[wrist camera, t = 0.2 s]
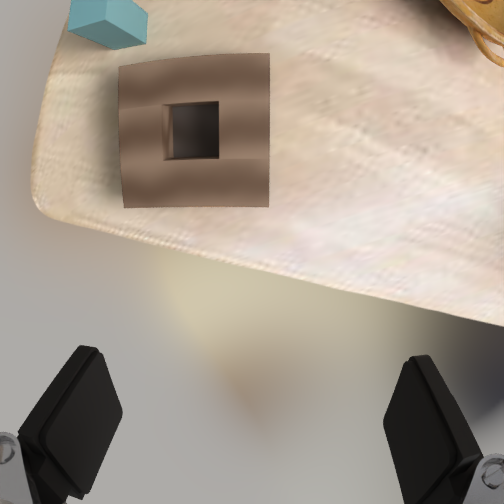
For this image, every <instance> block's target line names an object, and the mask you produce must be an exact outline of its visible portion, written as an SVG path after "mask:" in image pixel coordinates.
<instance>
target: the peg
mask: <svg viewBox="0 0 504 504" xmlns="http://www.w3.org/2000/svg"><path fill="white" fill-rule="evenodd" d="M147 19H148V13H146V12H145V11H144V10H143V9H142V8H140V7H139V6H138V5H137V4H136V3H134V2H133V1H132V0H71V6H70V14H69V22H68V31H69V32H71V33H74V34H77V35H79V36H82V37H84V38H87V39H89V40H92V41H94V42H97V43H99V44H102V45H104V46H106V47H109V48H111V49H113V50H116V49H121V48H126V47H131V46H137V45H142V44H146V37H147Z"/></svg>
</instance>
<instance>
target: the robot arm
mask: <svg viewBox="0 0 504 504" xmlns="http://www.w3.org/2000/svg"><path fill="white" fill-rule="evenodd" d="M122 413H123V412H122V407H121V404H120V402H119V400H118V396H117V394H116V391H115V388H114V386H113V383H112V380H111V377H110V374H109V371H108V368H107V366H106V362H105V359H104V356H103V354H102V353H100V352H99V350H98V349H97V348H95V347H90V346H84V345H80V346H79V347H78V348H77V349H76V350H75V351H74V353H73V354H72V355H71V357H70V358H69V360H68V361H67V362H66V364H65V365H64V366H63V368H62V369H61V370H60V371H59V373H58V374H57V376H56V377H55V378H54V380H53V381H52V383H51V384H50V385H49V387H48V388H47V390H46V391H45V392H44V394H43V395H42V397H41V398H40V400H39V401H38V402H37V404H36V405H35V407H34V408H33V410H32V411H31V412H30V414H29V416H28V417H27V419H26V420H25V421H24V423H23V424H22V426H21V427H20V429H19V431H18V433H19V435H18V437H17V438H16V437H15V436H14V435H13V434H11V433H7V432H0V504H67V503H66V499H67V497H68V495H70V496H72V497H75V498H78V499H80V500H82V499H83V497H84V495H85V494H88V493H89V492H90V490H91V488H92V485H93V483H94V481H95V478H96V476H97V473H98V471H99V469H100V466H101V464H102V462H103V459H104V457H105V455H106V452H107V450H108V448H109V445H110V443H111V441H112V439H113V436H114V434H115V432H116V430H117V427H118V425H119V423H120V421H121V418H122ZM383 426H384V430H385V434H386V437H387V441H388V444H389V447H390V451H391V455H392V458H393V462H394V465H395V469H396V473H397V477H398V480H399V484H400V488H401V492H402V496H403V500H404V504H504V455H502V454H490V455H488V456H486V457H483V454H482V452H481V450H480V448H479V446H478V444H477V442H476V440H475V437H474V436H473V433H472V431H471V429H470V427H469V425H468V423H467V421H466V420H465V417H464V415H463V414H462V412H461V410H460V408H459V406H458V404H457V402H456V400H455V399H454V397H453V396H452V394H451V393H450V391H449V389H448V387H447V385H446V384H445V382H444V380H443V378H442V376H441V375H440V373H439V371H438V369H437V368H436V366H435V364H434V363H433V361H432V359H431V357H430V356H429V355H420V356H412V357H410V358H409V360H408V361H406V362H405V363H404V364H403V367H402V370H401V373H400V376H399V379H398V382H397V384H396V387H395V390H394V393H393V395H392V398H391V401H390V403H389V406H388V408H387V411H386V413H385V416H384V419H383Z"/></svg>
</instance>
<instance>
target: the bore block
mask: <svg viewBox="0 0 504 504" xmlns="http://www.w3.org/2000/svg"><path fill="white" fill-rule="evenodd" d="M118 114H119V147H120V165H121V180H122V192H123V203H124V208H148V207H269V151H270V53H248V54H220V55H204V56H192V57H182V58H173V59H165V60H157V61H150V62H144V63H137V64H131V65H126V66H120V67H119V81H118Z"/></svg>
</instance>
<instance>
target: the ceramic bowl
mask: <svg viewBox="0 0 504 504" xmlns="http://www.w3.org/2000/svg"><path fill="white" fill-rule="evenodd" d="M440 2H441V3H442V4H443V5H444V6H445V7H446V8H447V9H448V10H449V11H450V12H451V13H452V14H453V15H454V16H455V17H456V18H457V19H458V20H460V21H461V22H462V23H463V24H464V25H465V26H467V28H468V30H469V32H470V34H471V36H472V38H473V40H474V42H475V43H476V45H477V47H478V48H479V49H480V51H481V52H482V53H483V54H484V55H485V56H486V57H487V58H488V59H489V60H491V61H492V62H494V63H495V64H497V65H499V66H501V67H504V59H503V58H501V57H499V56H497V55H496V54H494V53H493V52H492V51H491V50H490V49H489V48H488V47H487V46H486V44H485V42H484V41H483V39H482V37H483V38H485V39H487V40H488V41H490V42H493V43H495V44H498V45H500V46H502V47H503V49H504V0H440Z"/></svg>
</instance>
